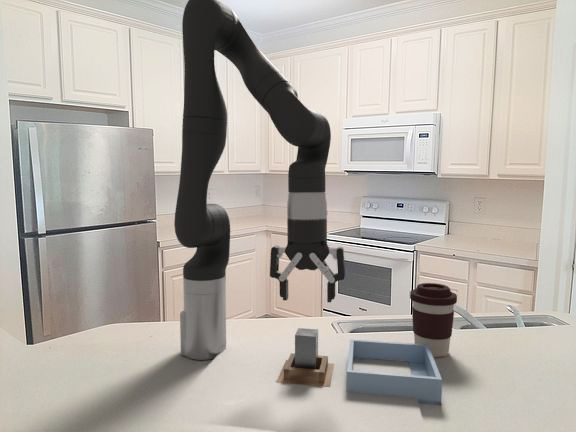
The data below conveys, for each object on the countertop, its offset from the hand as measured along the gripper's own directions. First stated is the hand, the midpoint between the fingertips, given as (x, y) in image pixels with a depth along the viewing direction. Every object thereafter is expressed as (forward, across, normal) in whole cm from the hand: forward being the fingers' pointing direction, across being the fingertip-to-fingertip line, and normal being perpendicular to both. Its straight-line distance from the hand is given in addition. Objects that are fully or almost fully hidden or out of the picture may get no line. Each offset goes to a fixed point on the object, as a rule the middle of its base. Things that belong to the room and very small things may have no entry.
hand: (307, 300), depth 80 cm
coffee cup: (+16, +26, +18) cm, 35 cm away
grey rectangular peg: (+14, 0, 0) cm, 14 cm away
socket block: (+15, 0, 0) cm, 15 cm away
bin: (+15, +16, +2) cm, 22 cm away
